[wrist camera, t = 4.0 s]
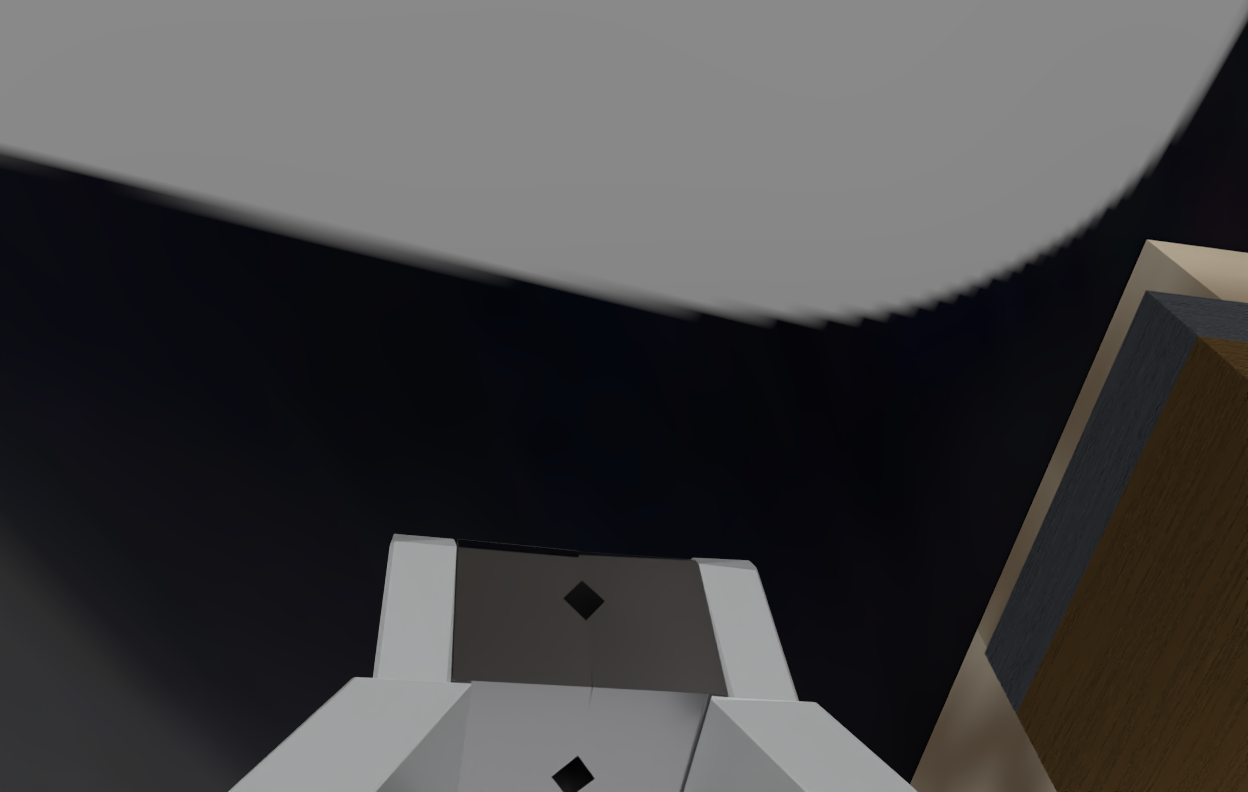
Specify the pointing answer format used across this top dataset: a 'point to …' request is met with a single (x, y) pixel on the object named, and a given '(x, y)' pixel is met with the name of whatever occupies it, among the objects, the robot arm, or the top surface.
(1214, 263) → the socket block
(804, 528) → the top surface
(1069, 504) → the keeper plate
